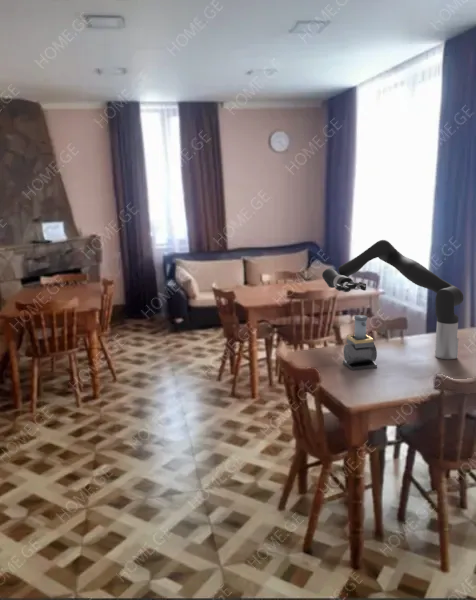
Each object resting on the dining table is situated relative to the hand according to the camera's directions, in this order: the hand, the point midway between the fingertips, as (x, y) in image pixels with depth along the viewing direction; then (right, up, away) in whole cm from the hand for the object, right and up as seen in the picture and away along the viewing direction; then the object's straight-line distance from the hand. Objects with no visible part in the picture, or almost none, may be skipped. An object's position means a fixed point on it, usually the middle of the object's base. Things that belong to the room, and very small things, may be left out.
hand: (356, 289), depth 242 cm
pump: (-2, -23, -13) cm, 27 cm away
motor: (-1, -35, -11) cm, 37 cm away
